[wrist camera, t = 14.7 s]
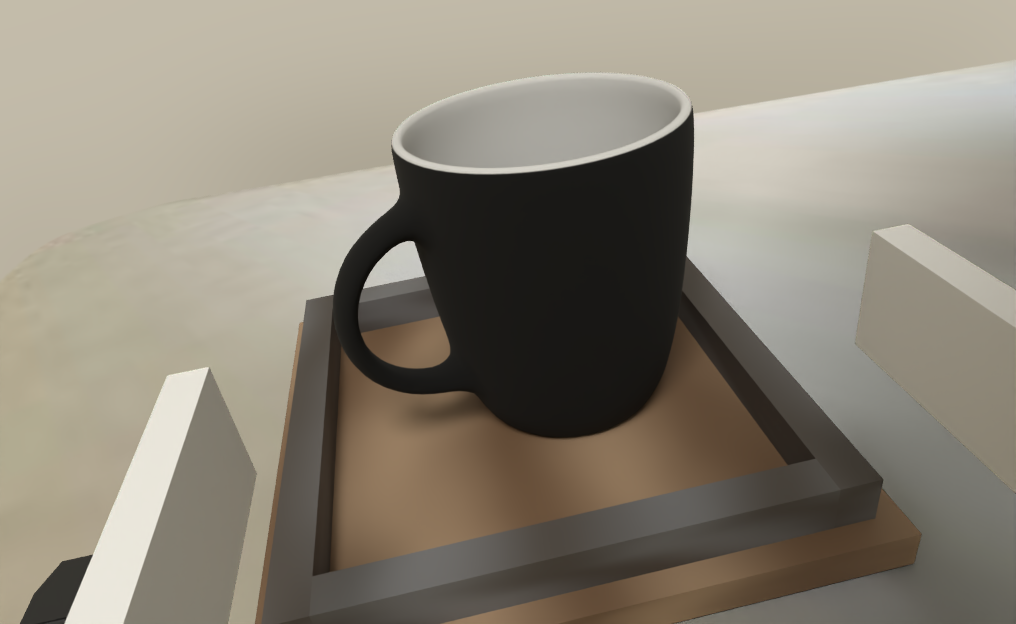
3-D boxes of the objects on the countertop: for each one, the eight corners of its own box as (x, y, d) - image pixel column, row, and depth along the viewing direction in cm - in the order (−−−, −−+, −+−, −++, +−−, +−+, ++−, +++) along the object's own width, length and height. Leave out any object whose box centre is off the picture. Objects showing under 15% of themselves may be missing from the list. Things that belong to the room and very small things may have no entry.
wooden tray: (672, 267, 35) (672, 217, 33) (914, 563, 19) (932, 494, 18) (307, 344, 33) (290, 295, 32) (259, 726, 18) (222, 665, 17)
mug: (600, 293, 31) (582, 58, 26) (747, 396, 24) (765, 104, 19) (342, 398, 27) (258, 146, 22) (429, 558, 20) (337, 246, 15)
